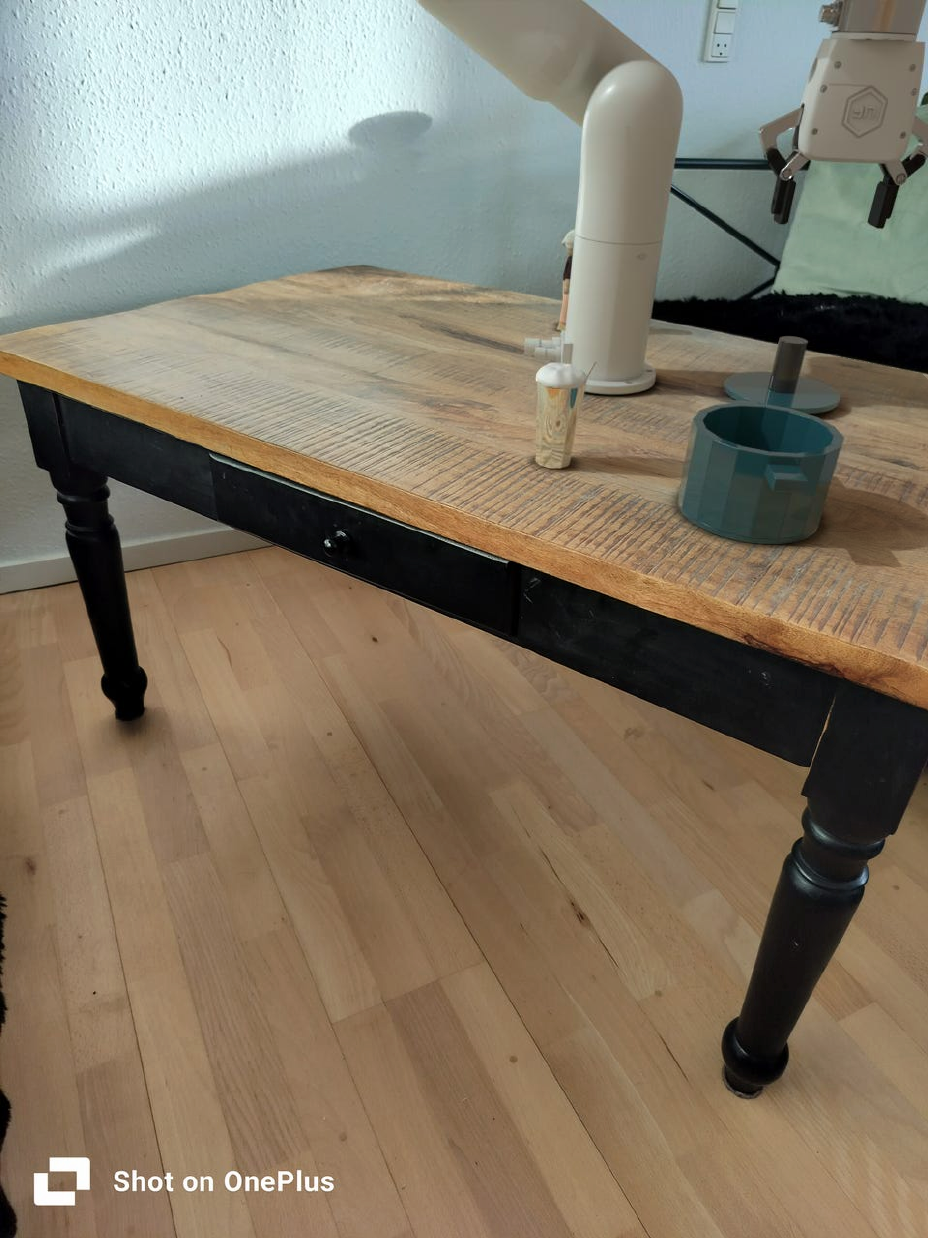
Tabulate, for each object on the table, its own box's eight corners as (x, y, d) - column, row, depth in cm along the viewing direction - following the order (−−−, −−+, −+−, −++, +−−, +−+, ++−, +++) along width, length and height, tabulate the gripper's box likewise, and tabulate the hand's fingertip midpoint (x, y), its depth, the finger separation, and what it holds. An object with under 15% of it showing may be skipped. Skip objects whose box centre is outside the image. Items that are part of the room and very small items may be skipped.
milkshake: (571, 478, 78) (584, 368, 73) (519, 463, 80) (528, 356, 75) (593, 462, 81) (606, 355, 76) (542, 448, 84) (552, 344, 78)
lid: (734, 415, 93) (748, 353, 90) (713, 378, 104) (724, 321, 100) (852, 422, 93) (871, 360, 89) (819, 384, 104) (834, 327, 100)
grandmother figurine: (584, 335, 118) (595, 234, 111) (556, 333, 118) (565, 233, 111) (578, 320, 124) (589, 224, 117) (552, 319, 124) (560, 223, 117)
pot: (695, 556, 67) (714, 466, 63) (665, 467, 81) (679, 389, 77) (846, 565, 67) (875, 475, 62) (790, 474, 81) (810, 396, 77)
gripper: (791, 17, 76) (750, 227, 86) (990, 24, 76) (927, 234, 85) (771, 19, 83) (735, 214, 92) (955, 26, 82) (899, 221, 92)
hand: (827, 224), depth 89 cm, fingers open, 9 cm apart
